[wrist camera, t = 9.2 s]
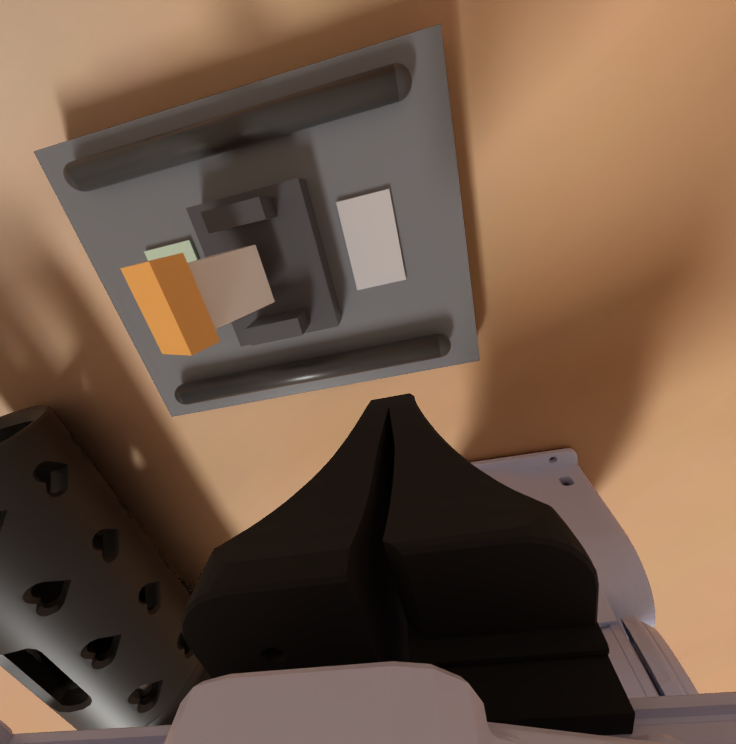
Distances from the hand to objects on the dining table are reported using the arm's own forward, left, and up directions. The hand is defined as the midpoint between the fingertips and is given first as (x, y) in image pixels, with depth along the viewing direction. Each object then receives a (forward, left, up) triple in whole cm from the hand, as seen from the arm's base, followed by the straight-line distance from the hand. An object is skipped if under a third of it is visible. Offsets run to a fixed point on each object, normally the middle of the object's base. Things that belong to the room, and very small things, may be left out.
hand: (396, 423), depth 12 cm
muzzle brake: (+23, +14, -11) cm, 29 cm away
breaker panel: (+5, -5, -10) cm, 12 cm away
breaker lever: (+5, -5, -6) cm, 9 cm away
